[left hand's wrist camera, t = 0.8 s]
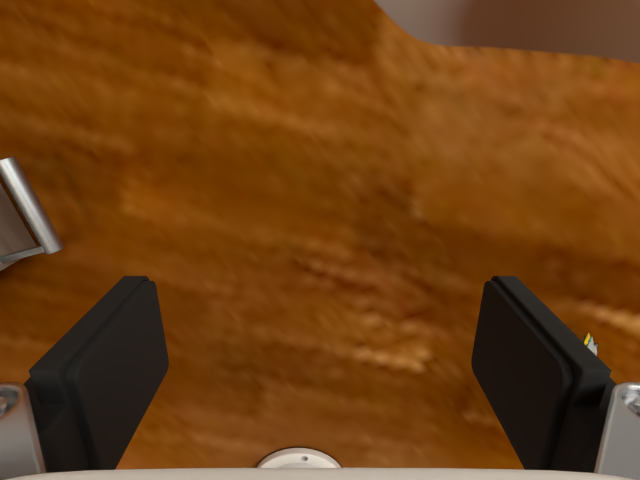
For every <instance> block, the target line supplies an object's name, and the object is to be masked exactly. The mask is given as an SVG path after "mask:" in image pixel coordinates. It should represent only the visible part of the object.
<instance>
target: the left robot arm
mask: <svg viewBox="0 0 640 480" xmlns="http://www.w3.org/2000/svg"><path fill="white" fill-rule="evenodd" d="M167 369H168V354H167V348H166V342H165V336H164V330H163V325H162V319H161V313H160V307H159V301H158V295H157V289H156V285H155V283H154V282H153V281H149V279H148V277H146V276H124V277H123V278H122V279H121V280H120V281H119V282H118V283H117V284H116V285H115V286H114V287H113V288H112V289H111V290H110V291H109V292H108V293H107V294H106V295H105V296H104V297H103V298H102V299H101V300H100V301H99V302H98V303H97V304H96V305H94V306H93V307H92V308H91V309H90V310H89V311H88V312H87V313H86V314H85V315H84V316H83V317H82V318H81V319H80V320H79V321H78V322H77V323H76V324H75V325H74V326H73V327H72V328H71V329H70V330H69V331H68V332H67V333H66V334H65V335H64V336H63V337H62V338H61V339H60V340H59V341H58V342H57V343H56V344H55V345H54V346H53V347H52V348H51V349H50V350H49V351H48V352H47V353H46V354H45V355H44V356H43V357H42V358H41V359H40V360H39V361H38V362H37V363H36V364H35V365H34V366H33V367H32V368H31V369H30V370H29V373H30V376H31V377H30V378H29V379H28V380H27V381H26V382H25V383H24V384H23V385H22V384H20V383H17V382H3V383H0V480H640V383H637V382H623V383H620V384H618V385H617V384H616V383H615V382H614V381H613V380H612V379H611V378H610V377H609V376H610V373H611V370H610V369H609V368H608V367H607V366H606V365H605V364H604V363H603V362H602V361H601V360H600V359H599V358H598V357H597V356H596V355H595V354H594V353H593V352H592V351H591V350H590V349H589V348H588V347H587V346H586V345H585V344H584V343H583V342H582V341H581V340H580V339H579V338H578V337H577V336H576V335H575V334H574V333H573V332H572V331H571V330H570V329H569V328H568V327H567V326H566V325H565V324H564V323H563V322H562V321H561V320H560V319H559V318H558V317H557V316H556V315H555V314H554V313H553V312H552V311H551V310H550V309H549V308H548V307H547V306H546V305H544V304H543V303H542V302H541V301H540V300H539V299H538V298H537V297H536V296H535V295H534V294H533V293H532V292H531V291H530V290H529V289H528V288H527V287H526V286H525V285H524V284H523V283H522V282H521V281H520V280H519V279H518V278H517V277H516V276H494V277H492V279H491V281H487V282H486V283H485V285H484V289H483V295H482V301H481V307H480V313H479V319H478V325H477V330H476V336H475V342H474V348H473V354H472V369H473V372H474V374H475V376H476V378H477V380H478V382H479V384H480V386H481V387H482V389H483V391H484V393H485V395H486V397H487V399H488V401H489V403H490V404H491V406H492V408H493V410H494V412H495V414H496V416H497V418H498V420H499V421H500V423H501V425H502V427H503V429H504V431H505V433H506V435H507V437H508V438H509V440H510V442H511V444H512V446H513V448H514V450H515V452H516V454H517V455H518V457H519V459H520V461H521V463H522V465H523V467H524V469H525V470H510V469H460V468H341V467H340V465H339V464H338V463H337V462H336V461H335V460H334V459H332V458H331V457H330V456H328V455H326V454H324V453H322V452H319V451H316V450H313V449H307V448H290V449H284V450H281V451H277V452H275V453H273V454H271V455H269V456H268V457H266V458H265V459H263V460H262V461H261V462H260V464H259V465H258V466H257V468H180V469H130V470H115V469H116V467H117V465H118V463H119V461H120V459H121V457H122V455H123V454H124V452H125V450H126V448H127V446H128V444H129V442H130V440H131V438H132V437H133V435H134V433H135V431H136V429H137V427H138V425H139V423H140V421H141V420H142V418H143V416H144V414H145V412H146V410H147V408H148V406H149V404H150V403H151V401H152V399H153V397H154V395H155V393H156V391H157V389H158V387H159V386H160V384H161V382H162V380H163V378H164V376H165V374H166V372H167Z"/></svg>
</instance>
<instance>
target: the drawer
mask: <svg viewBox="0 0 640 480" xmlns="http://www.w3.org/2000/svg"><path fill="white" fill-rule="evenodd" d="M0 174H1V176H2V178H3V179H4V181H5V183H6V185H7V186H8V188H9V190H10V192H11V193H12V195H13V197H14V199H15V201H16V202H17V204H18V206H19V208H20V209H21V211H22V213H23V215H24V216H25V218H26V220H27V222H28V223H29V225H30V227H31V229H32V230H33V232H34V234H35V236H36V237H37V239H38V241H39V243H40V244H41V245H40V246H36V244H35V242H34V241H33V239H32V237H31V235H30V234H29V232H28V230H27V228H26V227H25V225H24V223H23V221H22V220H21V218H20V216H19V214H18V213H17V211H16V209H15V207H14V206H13V204H12V202H11V200H10V199H9V197H8V195H7V193H6V192H5V190H4V188H3V186H2V185H1V183H0V271H1V270H3V269H5V268H7V267H8V266H10V265H12V264H13V263H15V262H17V261H19V260H20V259H22V258H24V257H28V256H32V255H36V254H39V253H43V252H45V253H46V254H52V253H55V252H57V251H60V250H62V249H63V248H64V245H63V243H62V241H61V239H60V238H59V236H58V234H57V232H56V230H55V228H54V227H53V225H52V223H51V221H50V219H49V218H48V216H47V214H46V212H45V210H44V208H43V207H42V205H41V203H40V201H39V199H38V197H37V196H36V194H35V192H34V190H33V188H32V186H31V185H30V183H29V181H28V179H27V177H26V175H25V174H24V172H23V170H22V168H21V166H20V164H19V163H18V161H17V159H16V157H15V156H13V157H9V158H5V159H1V160H0Z"/></svg>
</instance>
